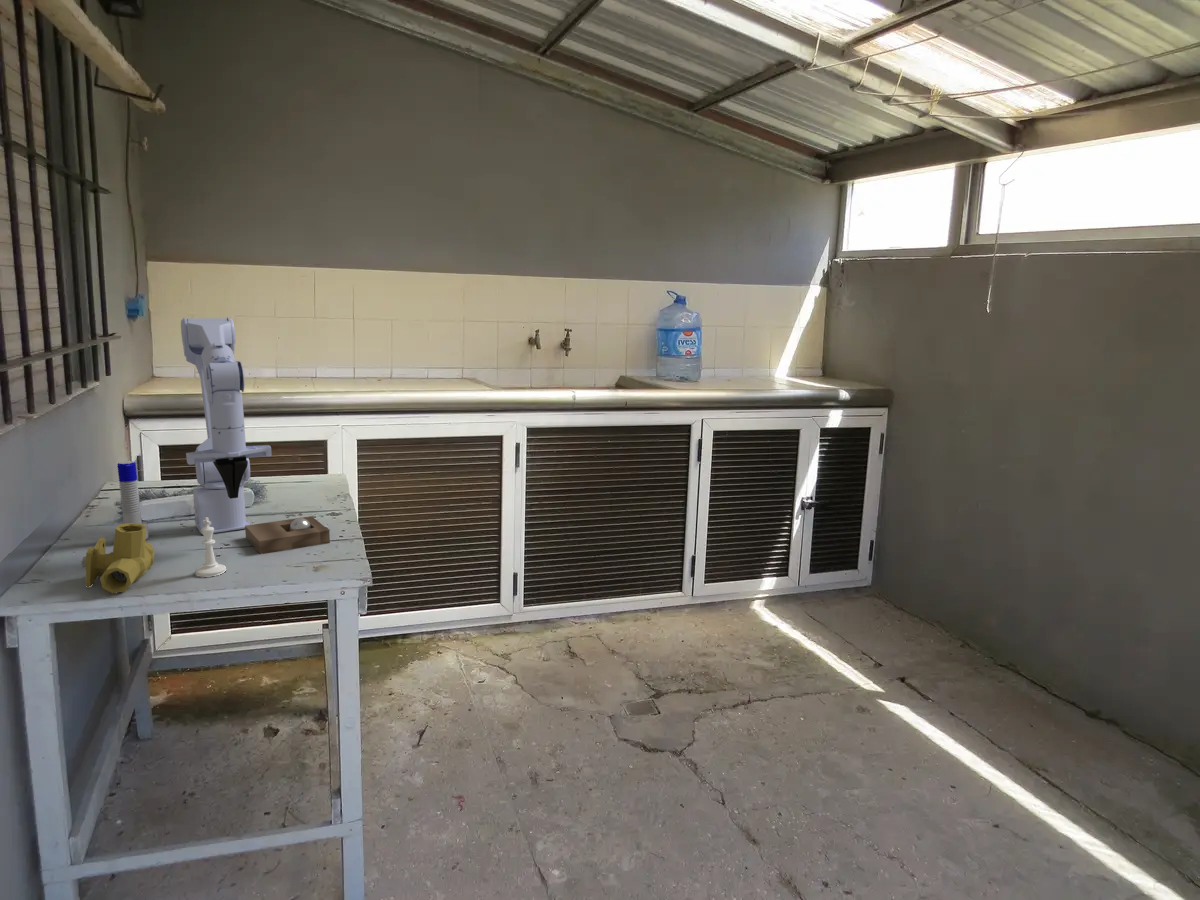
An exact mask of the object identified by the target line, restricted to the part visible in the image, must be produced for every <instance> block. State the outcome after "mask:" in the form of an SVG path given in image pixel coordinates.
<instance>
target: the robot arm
mask: <svg viewBox="0 0 1200 900" xmlns="http://www.w3.org/2000/svg"><path fill="white" fill-rule="evenodd" d="M180 330H181V331H180V332H181V342H182V348H183V356H184V357H185V360H186V362H188V363H189V364H192V365H194V366H195V367H196V370H197V373H198V375H199V379H200V386H201V394H202V402H203V410H204V419H205V425H206V433H207V434H206V435H207V438H206V439H205V440H204V441H203V442H202V443H200V444H199V445H198V446H196V450H195V451H191V452H186V453H185V455H186V456H185V458H186V464H188V466H191V465H192V466H193V465H194V466H195V473H196V481H197V484H198V485H200V486H201V487H199V488H194V489H193V493H192V494H193V507H194V521H195V522H194V523H195V527H196V528H197V529H198V531H199V533H200V534H201V535H203V533H202V531H201V529H202V528H204V527H206V526H205V524H204V523H203V521H204V520H205V518H206V517H208V518H209V521H210V522H211V524H210V525H209V527H213V528H214V532H213V534H217V533H222V532H230V531H231V532H232V531H237V530H245V526H247V525H252V524H251V523H250V522H249V521H248V520H247V517H246V516H247V514H246V504H245V502H246V501H245V490H244V486H245V485H246V483H245V482H248V480H249V479H250V478H251V463H250V459H251V458H263V457H266V458H267V457H269V458H270V457H272V456H273V455H272V447H271V445H269V444H264V445H246V444H247V443H246V430H245V414H244V403H243V401H244V400H243V393H244V392H245V391H244V390H245V385H246V384H245V383H246V382H245V381H246V380H245V373H244V372H245V370H244V366H243V365H242V362H241V361H240V360H236V357H235V346H236V329H235V323H234V320H233V319H232V318H231V317H225V318H224V317H223V318H221V317H219V318H217V317H215V318H213V317H212V318H211V317H210V318H209V317H206V318H205V317H203V318H201V317H199V318H197V317H196V318H195V317H193V318H192V317H191V318H187V317H183V318H182V319H181V320H180ZM202 486H203V487H202Z"/></svg>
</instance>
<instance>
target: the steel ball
mask: <svg viewBox="0 0 1200 900" xmlns="http://www.w3.org/2000/svg"><path fill="white" fill-rule="evenodd" d="M297 518H298V519H295V518H294V519H295V520H294V521H293V522H292V523H291V525H290V531H297V530H303V529H310V528H311V525H310V523H309V521H308V520H306V519H304V518H302V517H297Z"/></svg>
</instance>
